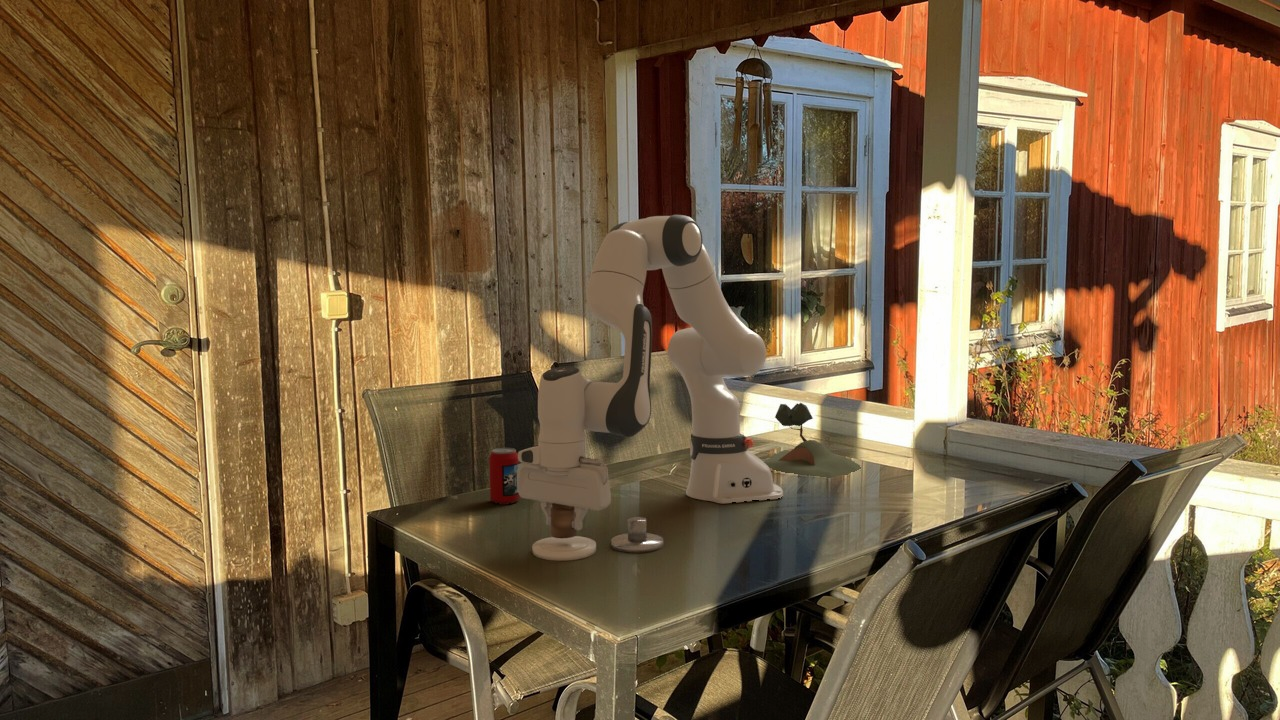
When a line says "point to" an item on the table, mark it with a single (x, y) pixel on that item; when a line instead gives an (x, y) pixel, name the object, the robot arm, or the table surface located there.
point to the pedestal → (637, 538)
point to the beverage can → (503, 475)
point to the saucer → (564, 548)
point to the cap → (562, 521)
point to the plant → (807, 450)
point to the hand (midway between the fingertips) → (564, 526)
